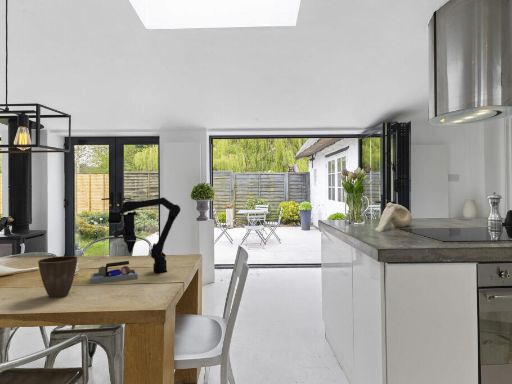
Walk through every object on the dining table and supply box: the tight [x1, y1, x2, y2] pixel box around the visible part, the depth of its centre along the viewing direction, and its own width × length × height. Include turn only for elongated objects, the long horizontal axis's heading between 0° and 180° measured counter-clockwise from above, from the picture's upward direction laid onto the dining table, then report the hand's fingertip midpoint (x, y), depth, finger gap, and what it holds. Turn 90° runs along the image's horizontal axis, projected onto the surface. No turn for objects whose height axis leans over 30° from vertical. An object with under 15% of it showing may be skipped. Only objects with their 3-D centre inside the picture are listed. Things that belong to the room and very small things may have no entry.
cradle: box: [90, 268, 139, 285], centre depth 175 cm, size 22×13×2 cm, turn 114°
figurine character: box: [97, 260, 131, 277], centre depth 175 cm, size 7×8×15 cm
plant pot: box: [37, 255, 78, 299], centre depth 147 cm, size 15×15×16 cm
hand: (129, 251), depth 186 cm, fingers open, 9 cm apart
